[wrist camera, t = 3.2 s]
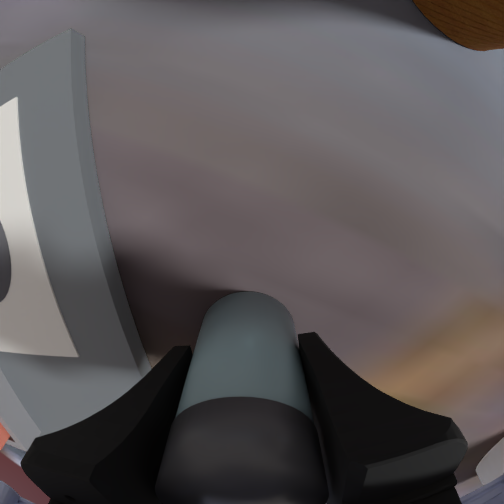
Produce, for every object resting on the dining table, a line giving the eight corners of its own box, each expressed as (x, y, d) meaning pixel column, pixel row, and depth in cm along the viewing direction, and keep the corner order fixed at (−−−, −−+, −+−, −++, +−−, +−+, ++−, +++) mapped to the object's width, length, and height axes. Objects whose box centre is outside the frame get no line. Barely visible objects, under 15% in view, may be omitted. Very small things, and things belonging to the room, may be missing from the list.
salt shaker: (298, 364, 13) (325, 521, 6) (211, 373, 14) (184, 526, 6) (291, 284, 12) (333, 453, 5) (191, 296, 12) (126, 459, 5)
